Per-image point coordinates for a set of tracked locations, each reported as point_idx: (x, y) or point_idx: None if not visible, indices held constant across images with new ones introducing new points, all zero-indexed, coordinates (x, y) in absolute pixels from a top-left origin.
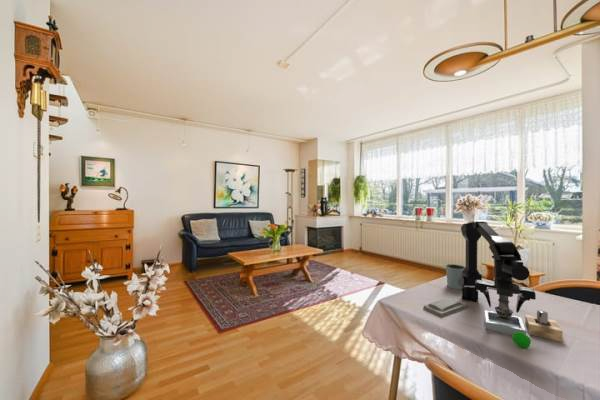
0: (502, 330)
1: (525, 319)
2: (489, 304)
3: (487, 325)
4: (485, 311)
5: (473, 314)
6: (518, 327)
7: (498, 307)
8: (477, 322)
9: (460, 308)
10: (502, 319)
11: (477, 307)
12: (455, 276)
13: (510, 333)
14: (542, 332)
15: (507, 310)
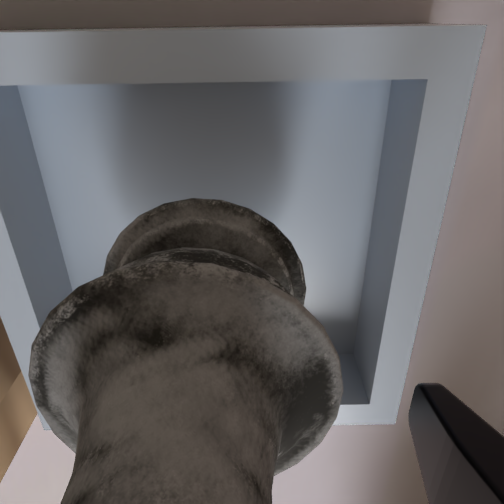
0: (232, 27)
1: (20, 428)
2: (479, 431)
3: (434, 24)
4: (396, 395)
5: (474, 358)
6: (77, 271)
7: (280, 414)
8: (487, 183)
9: None
10: (221, 219)
11: (400, 494)
12: None
13: (138, 28)
14: None
15: (108, 364)
